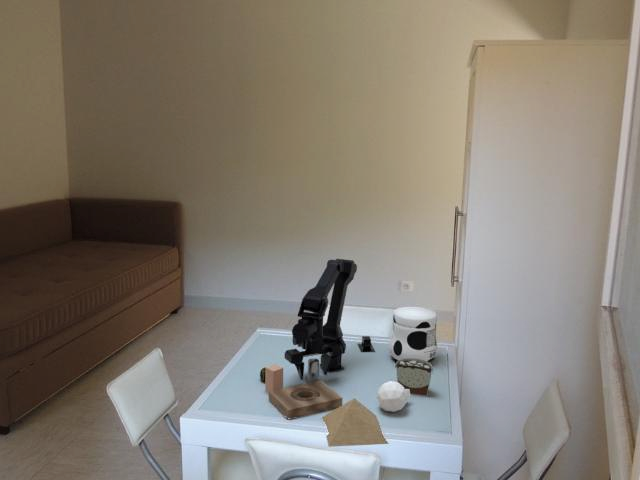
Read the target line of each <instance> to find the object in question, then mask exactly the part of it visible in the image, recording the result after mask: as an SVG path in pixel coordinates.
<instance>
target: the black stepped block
mask: <svg viewBox="0 0 640 480" xmlns="http://www.w3.org/2000/svg"><path fill="white" fill-rule="evenodd" d="M357 346H358V349H359V350H360V353H376V351H375V347H374V346H373V343H372V339H371V336H369V335H368V336H367V335H363V336H362V337H361V342H360V343H357Z"/></svg>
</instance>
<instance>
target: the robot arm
mask: <svg viewBox="0 0 640 480" xmlns="http://www.w3.org/2000/svg"><path fill="white" fill-rule="evenodd" d="M357 270H358V264H356V263H355V261H354V260H352V259H345V258H335V259H328V260H327V263H326V267H325V269H324V271H323V273H322V274H321V276H320V278H319V279H318V281H317V283H316V285H315V286H314V287H313V288H311V289H308V290H307V292H306V293H305V294H304V296H303V297H302V299H301V303H300V306H299V309H298V312H297V317H298V318H299V319H298V320H297V323H296V324H295V325H293V327H292V330H291V335H292V339H291V340H292V345H293V346H297V348H300V347H301V349H302V351H300V350H298V349H297V348H292V349H287V350H286V351H285V352H284V359H285V360H286V361H288V363H289V364H291V365H292V364H293V365H294V366H295V368H296V371H297V374H298V377H299V379H300V381H303V379H304V376H305V374H304V373H305V372H304V371H305V362H303V361H304V358H307V357H313V356H318V355H320V363H319V368H322V370H323V375H324V376H327V374H328V373H329V372H330V373H332V372H334V371H339V370H343V369H344V368H345V367H344V366H343V365H342V360H343V359H342V357H343V356H342V355H344V354H345V353H346V349H347V344H346V342H345V340H344V338H343V336H344V335H343V330H342V327H341V322H342V316H343V310H344V307H345V306H344V305H345V301H346V295H347V291H348V286H349V284H350V283H351V282H352V281H353V280H354V278H355V274H356V273H357ZM332 287H333V288H332ZM331 290H332V293H331V299H330V303H329V298H328V296H329V294H330V292H331ZM328 307H329V310H328V313H327V318H326V322H325V324H324V317H325V316H326V312H327V309H328Z"/></svg>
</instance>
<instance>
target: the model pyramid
mask: <svg viewBox="0 0 640 480" xmlns="http://www.w3.org/2000/svg"><path fill="white" fill-rule="evenodd" d="M322 419H323V421H324V422H325V424H326V426H327V429H328V432H329V434H328V435H327V436H326V435H325V436H326V440H327V445H328V447H330V448H331V447H349V446H373V445H374V446H375V445H389V442H387V441H388V440H387V441H386V439H387V438H386V439H385V438H384V436H383V434H382V431H381V428H382V427H381V428H380V426H381V424H380V421H379V420H377V419H378V418H377V415H376V414H375V413H373V411H371V410H370V409H369V408H367V407H366V406H365V405H364V404H363V403H361V402H360V401H359V400H358V399H357V398H355V397H353V398H352V399H350V400H349V401H347V402H346V403H343V404H342V406H340V407H338V408H337V409H333V410H331V411H330V412H328V413H327V414H325V415H323V416H322V418H321V420H322ZM379 424H380V425H379Z"/></svg>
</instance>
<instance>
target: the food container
mask: <svg viewBox="0 0 640 480" xmlns="http://www.w3.org/2000/svg"><path fill="white" fill-rule="evenodd" d="M394 369H396V379H397V381H396V382H398V383H400V384H401V385H402V386H403V387H404V388H405V389H410V395H413V396H420V397H425V398H428V396H429V395H428V394H429V388H430V383H431V378H432V374H434V367H433V365H432V363H431V362H430V363H429V362H427V361H425V360H421V359H415V358H406V359H401V360H399V361H397V360H396V363H395V365H394Z"/></svg>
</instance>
